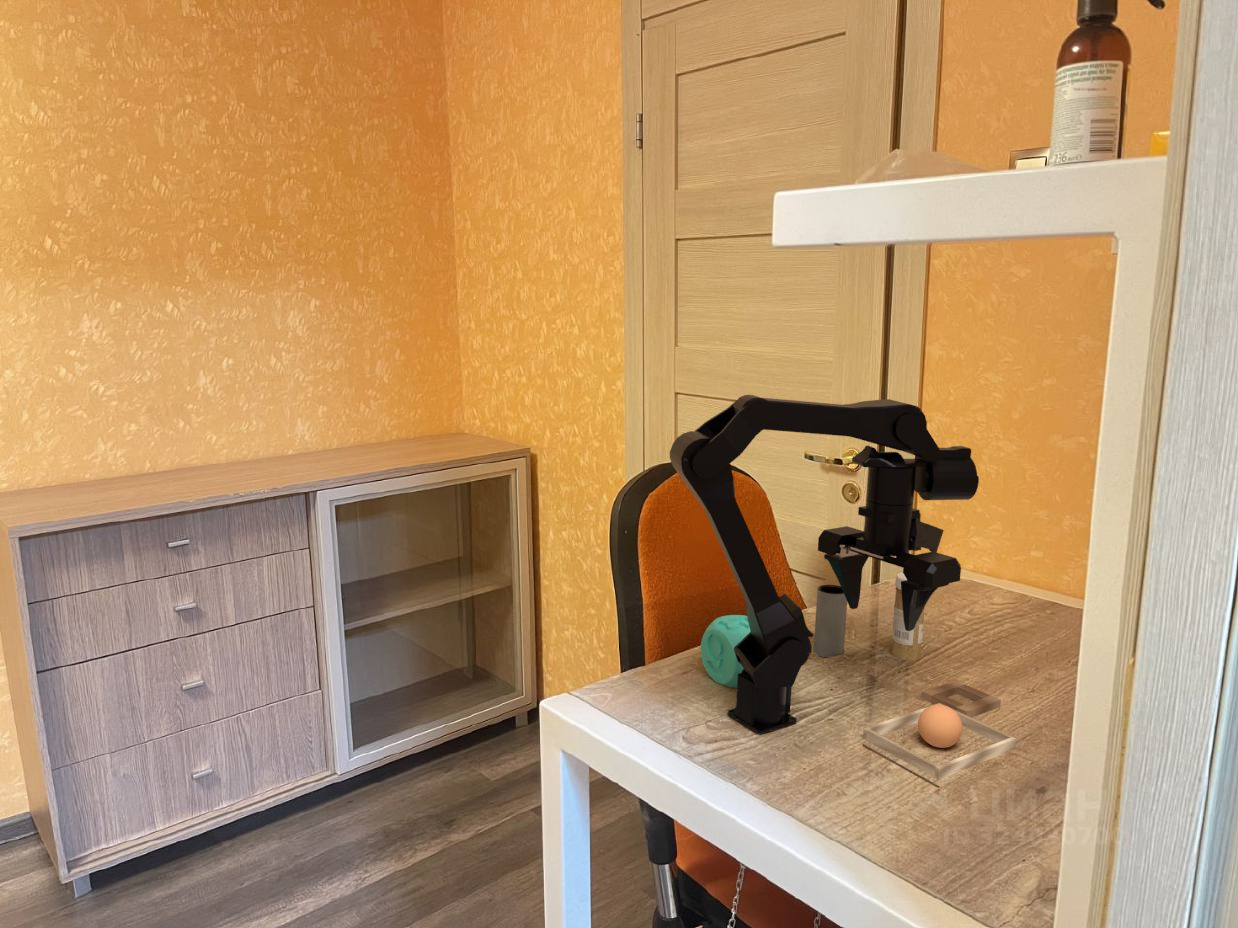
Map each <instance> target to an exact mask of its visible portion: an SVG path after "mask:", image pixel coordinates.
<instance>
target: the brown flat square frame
mask: <svg viewBox="0 0 1238 928" xmlns="http://www.w3.org/2000/svg"><path fill="white" fill-rule="evenodd" d="M956 695H958V696H961V697H963V698H965V699H967V700H969V701H971V702H968V703H966V704H964V703H962V702H959V701H957V700H955V699H953V698H951V697H953V696H956ZM921 700H922V701H926V702H927V703H930V704H931V705H935V704H938V703H941V704H943V705H945V706H948V707H950V708H951V709H954V710H956V711H958V712H960V713H962V714H964V715H967V716H969V717H971V718H973V717H974V718H975V717H977V716H979V715H982V714H986V713H988V712H991V711H994V710H996V709H1000V708H1001V700H1002V699H999V698H997V697H995V696H992V695H990V694H988V693H986V692H983V691H981V690H978V689H977V688H974V687H972V686H970V685H967V684H964V683H962V682H960V681H958V680H954V681H953V680H952V681H950V682H947V683H944V684H941V685H937V686H935V687H932V688H928V689H925V690H921Z"/></svg>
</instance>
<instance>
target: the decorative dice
mask: <svg viewBox="0 0 1238 928" xmlns="http://www.w3.org/2000/svg"><path fill="white" fill-rule="evenodd" d="M750 632H751V631H750V627H749V623H748V619H747V615H743V614H742V615H741V614H729V615H723V616H719V617H716V618H715V619H714V620H713V621H712V622H711V623H710V624H709V625H708V627H706V629H705V631H704V633H703V636H702V637H701V641H700V657H701V661H702V664H703V667H704V669H705V671H706V673H707V675H708V676H709V677H710V678H711V679H712V680H714V682H716V683H717V684H719V685H722V686H724V685H725V687H729V688H733V687H734V688H735V689H737V678H738V674H739V673H742V670H743V669H744V668H743V667H742V665H741V664H740V663H739V662H738V661H737V658H736V655H735V652H734V647H735V646H736V645H737V644H738V643H739V642H740V641H741V640H743V639H744V638H745V637H746V636H747V635H748V634H749V633H750ZM734 688H733V689H734Z"/></svg>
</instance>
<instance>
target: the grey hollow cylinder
mask: <svg viewBox="0 0 1238 928" xmlns="http://www.w3.org/2000/svg"><path fill="white" fill-rule="evenodd" d="M816 589H817V591H816V606H815V621H814V636H813V637H814V639H813V653H814V652H815V653H816V654H817V656H818V655H819V657H821V656H822V657H821V658H824V657H825V658H826V659H828V658H833V657H836V656H840V655H844V653H845V641H846V627H847V626H846V624H847V610H848V602H847V600H846V597H845V595H844V593H843V590H842V588H841V585H838V584H837V585H836V584H822V585H819V586H818V587H817V588H816ZM815 653H814V654H815ZM816 654H815V655H816Z"/></svg>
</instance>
